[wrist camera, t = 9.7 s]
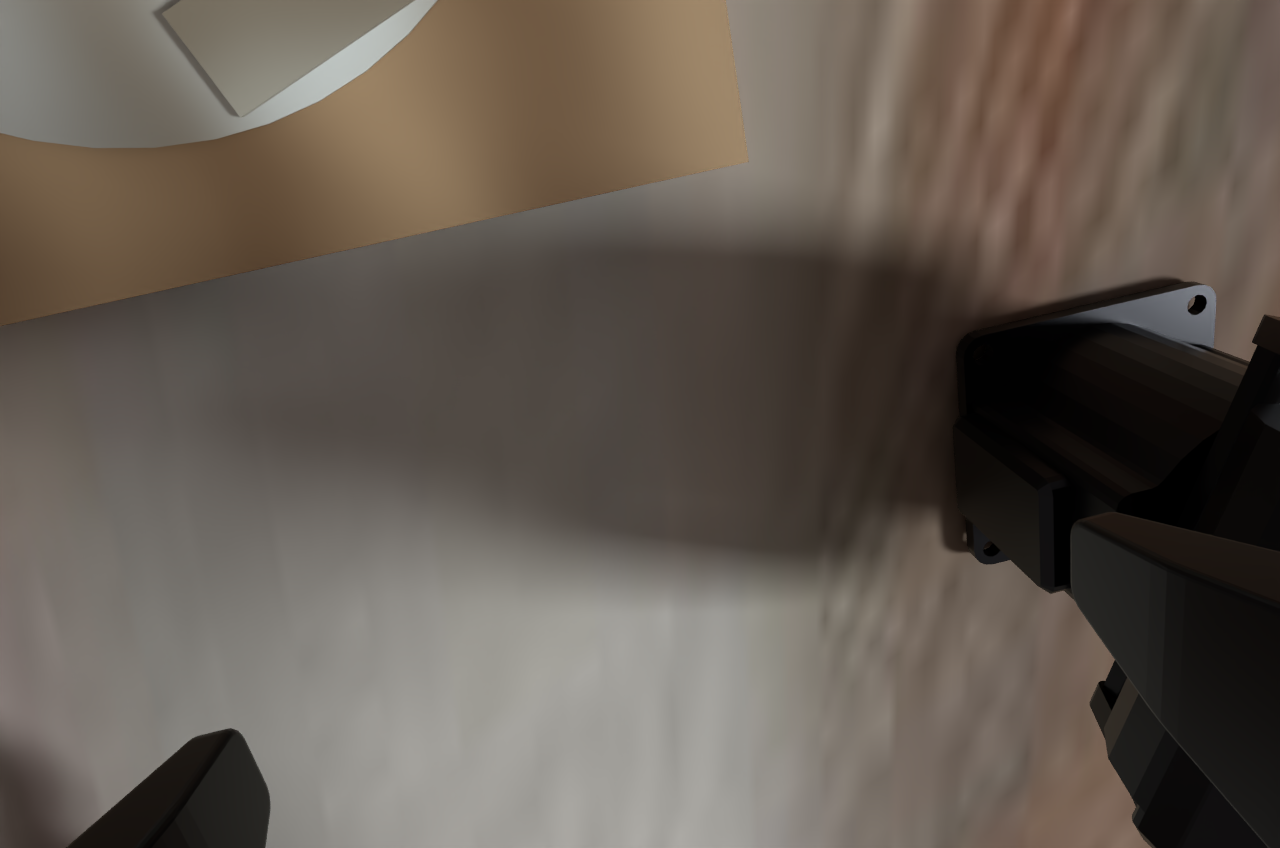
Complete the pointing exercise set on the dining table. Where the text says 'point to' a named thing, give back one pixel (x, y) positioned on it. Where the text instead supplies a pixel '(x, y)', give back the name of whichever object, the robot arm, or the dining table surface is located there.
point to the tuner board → (328, 127)
